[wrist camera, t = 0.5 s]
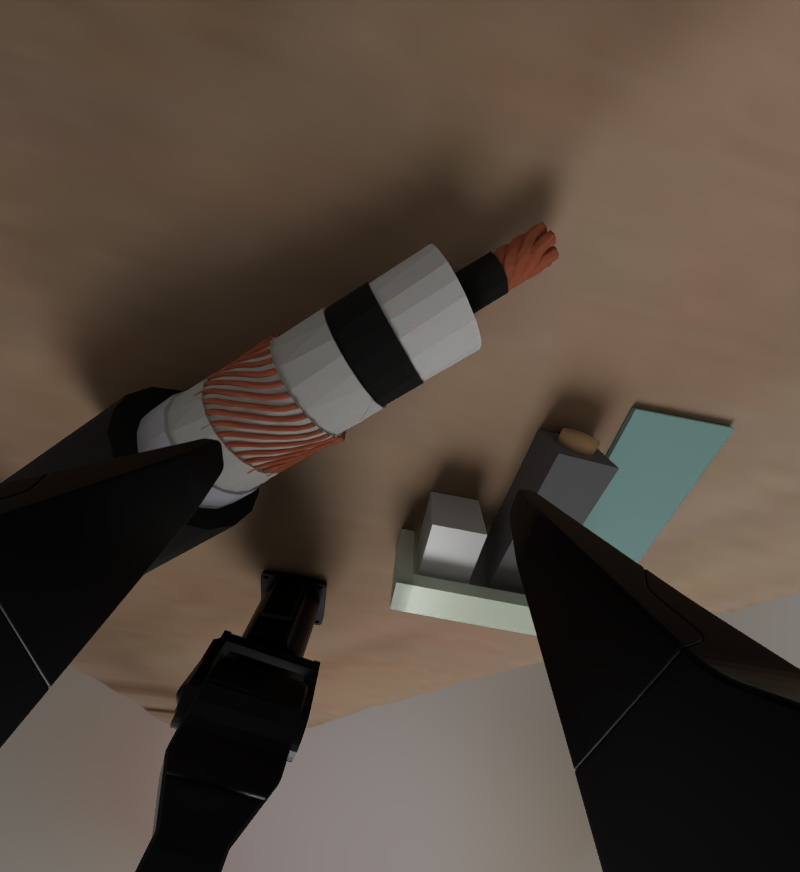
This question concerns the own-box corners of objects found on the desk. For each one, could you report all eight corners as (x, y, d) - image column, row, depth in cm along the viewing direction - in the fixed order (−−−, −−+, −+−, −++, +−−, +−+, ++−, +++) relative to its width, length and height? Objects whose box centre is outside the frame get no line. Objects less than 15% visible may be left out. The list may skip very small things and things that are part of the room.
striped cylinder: (513, 291, 23) (608, 365, 16) (177, 491, 28) (144, 607, 22) (480, 118, 16) (629, 121, 9) (38, 432, 21) (-76, 579, 15)
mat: (603, 603, 30) (606, 607, 29) (533, 590, 29) (534, 594, 29) (729, 426, 21) (734, 428, 21) (632, 407, 21) (635, 409, 21)
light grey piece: (535, 578, 29) (559, 640, 24) (395, 552, 29) (389, 609, 24) (547, 556, 28) (576, 615, 22) (401, 528, 27) (396, 582, 22)
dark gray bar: (503, 588, 30) (514, 629, 27) (464, 579, 30) (470, 619, 26) (593, 431, 23) (626, 457, 19) (542, 418, 22) (564, 442, 19)
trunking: (451, 575, 29) (455, 614, 26) (410, 567, 29) (408, 606, 26) (478, 500, 26) (487, 534, 22) (431, 491, 25) (432, 524, 22)
